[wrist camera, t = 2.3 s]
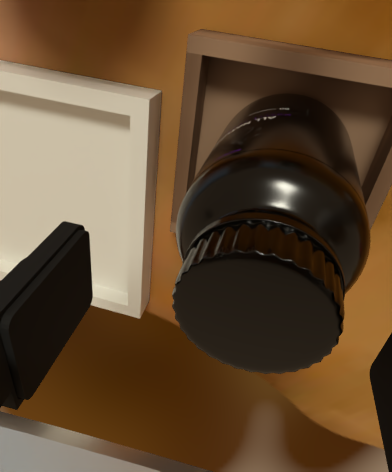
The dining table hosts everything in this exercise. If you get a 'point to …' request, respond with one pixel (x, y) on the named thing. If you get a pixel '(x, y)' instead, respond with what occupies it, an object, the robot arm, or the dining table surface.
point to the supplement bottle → (272, 238)
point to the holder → (279, 82)
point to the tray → (80, 174)
